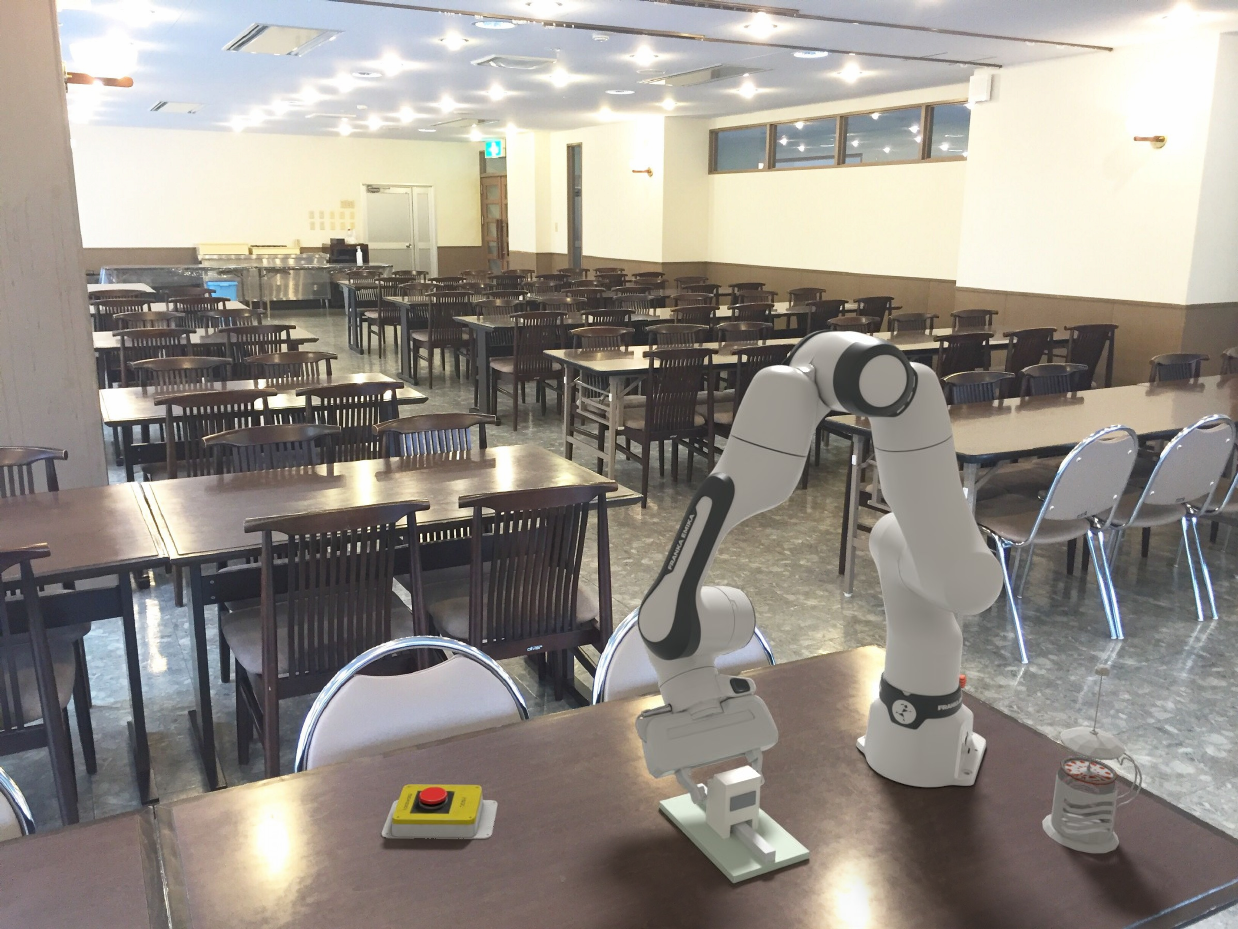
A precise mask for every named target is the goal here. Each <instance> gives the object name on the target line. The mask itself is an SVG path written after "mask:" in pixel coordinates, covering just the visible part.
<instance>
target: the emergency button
mask: <svg viewBox="0 0 1238 929" xmlns="http://www.w3.org/2000/svg"><path fill="white" fill-rule="evenodd" d="M482 789H483V788H482V786H480V784H479V785H478V784H425V783H424V784H421V783H420V784H417V783H414V784H413V783H412V784H406V785H403V787H402V790H401V793H400V794H399V798H398V799H397V800H394V801H393V802H392V804H391V808H390V809H389V812H388V815H387V818H386V821H385V823H384V825H383V828H382V831H381V837H383V838H384V837H386V839H414V838H425V840H426V839H427V838H429V839H430V840H431V838H434V840H435V838H436V839H437V840H439V839H440V840H441V839H442V840H445V839H446V840H447V839H448V840H487V839H489V838H491V837H492V836H493V831H494V827H493V826H495V822H494V821H496V815H497V810H498V806H499V805H498V802H497V801H496V800H493V799H492V800H491V799H483V798H484V797H483V790H482ZM491 835H492V836H491ZM458 838H459V839H458ZM463 838H464V839H463ZM429 839H427V840H429Z"/></svg>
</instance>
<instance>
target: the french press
mask: <svg viewBox="0 0 1238 929" xmlns="http://www.w3.org/2000/svg"><path fill="white" fill-rule="evenodd" d="M1093 672H1094V674H1095V675H1098V676H1100V680H1099V686H1098V687H1099V688H1098V694H1097V699H1096V700H1097V701H1096V709H1095V716H1094V722H1093V727H1087V726H1083V725H1081V726H1076V727H1072V728H1068V729H1064V730H1063V731H1062V732H1061V733H1060V734H1059V736H1060V741H1061V744H1063V745H1064V747H1065V748H1066V749H1067V750H1068V751H1071V752H1072V753H1074V754H1076V755H1079V756H1076V755H1073V756H1072V755H1070V756H1067V757H1064V758H1062V760H1060V762H1059V763H1060V767H1059V768H1058V769H1057V771H1056V775H1055V784H1054V792H1053V800H1052V808H1051V813H1050V814H1048V815H1046V817H1045V818H1044V819H1042V820H1041V821H1042V823H1041V824H1042V829H1043V831H1044V832H1045V833H1046V834H1047V835H1048V836H1049V838H1051V839H1052V840H1053V841H1055V842H1057V843H1058V844H1060V845H1062V846H1064V847H1066V848H1069V849H1072V850H1074V851H1078V852H1084V853H1088V854H1106V853H1109V852H1111V851H1115V850H1116V849H1117V847H1118V846H1119V845H1120V840H1119V837H1118V835H1117V833H1116V832H1115V831H1114V827H1115V821H1116V815H1117V810H1118V809H1117V808H1119V807H1123V806H1124V805H1127V804H1129V803H1131V802H1133V801H1134V800H1135V799H1136V797H1137V796H1138V795H1139V792H1140V790H1141V788H1142V784H1143V775H1142V772H1141V769H1140V767H1139V766H1138V765H1137V764H1136V763H1135V760H1134V759H1133V758H1132V757H1131V756H1130V755H1129V754H1127V753H1126V747H1125V745H1124V743H1122V741H1120V740H1119V739H1118V738H1117V737H1116V736H1114V735H1112V734H1110V733H1108V732H1106V731H1104V730H1103V729H1099V728H1096V725H1097V719H1098V718H1097V717H1098V712H1099V711H1098V710H1099V703H1100V697H1101V696H1100V695H1101V688H1102V682H1103V681H1102V680H1103V677H1109V676H1110V669H1109V667H1108V666H1107V665H1105V664H1098V665H1096V666H1095V667H1094V670H1093ZM1123 755H1124V756H1125V757H1122V756H1123ZM1121 757H1122V758H1121ZM1120 758H1121V759H1120ZM1115 759H1116V761H1117V763H1118V764H1119V765H1120V766H1123V763H1124V760H1126V761H1128V762H1130V763H1132V764H1133V766H1134V780H1133V783H1132V785H1131V786H1130V788H1129V789H1128V791H1127V792H1125V793H1124V794H1122V795H1119V796H1118V794H1119V784H1118V783H1117V784H1116V780H1117V779H1118V773H1117V772H1116V770H1115V769H1114V768H1113V767H1112V766H1110V765H1109V764H1108V763H1105V762H1104V761H1113V760H1115ZM1120 760H1121V761H1120ZM1138 775H1139V783H1138V786H1137V790H1136V792H1135V793H1134V795H1133V797H1131V798H1130V799H1129V800H1127V801H1124V802H1121V803H1119V804H1117V802H1118V801H1117V800H1119V799H1122V798H1125V797H1126V796H1127V795H1129V794H1131V791H1132V790H1133V789H1134V787H1135V785H1136V783H1137V779H1138ZM1069 777H1070V779H1068V780H1066V781H1064V782H1063V780H1064V779H1066V778H1069ZM1074 782H1081V783H1084V784H1073V785H1071V786H1070V784H1072V783H1074ZM1086 784H1089V785H1092V786H1094V787H1095V788H1097V789H1098V790H1099V792H1098V791H1096V790H1095V789H1094V788H1091V787H1090V786H1087V785H1086ZM1115 785H1116V790H1115ZM1082 790H1085V792H1084V791H1082ZM1065 801H1067V803H1065ZM1092 804H1094V805H1095V806H1093V805H1092Z"/></svg>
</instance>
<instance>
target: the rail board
mask: <svg viewBox="0 0 1238 929" xmlns="http://www.w3.org/2000/svg"><path fill="white" fill-rule="evenodd" d="M696 785H697V786H698V787H701V786H704V789H705V793H706V795H707V786H706V785H705V784H703V783H698V784H696ZM706 804H707V800H705V801H704V802H700V803H697V804H694V803H693V801H692V799H691V796H690V793H689V792H688V793H685V794H681V795H677V796H675V797H670V798H666V799H664V800H662V799H661V800H659V804H658V805H659V809H660V810H661V811H662V812H663V813H664V815H666V816H667V817H668V818H669V819H670V820H671V821H672V823H674V824H675V825H676V826H677V827H678V828H679V829H680V830H681V831H682V833H684V834H685V835H686V836H687V838H689V840H691V842H692V843H693V844H694V845H695V846H696V847H697V848H698V849H699V850H700V851H701V852H702V853H703V854H704V855H705V856H706V857H707V858H708V859H709V860H710V861H711V862H712V863H713V864H714V866H716V867H717V868H718V869H719V871H720V872H722V873H723V874H724V876H726V878H728V880H729V881H730V882H731V883H733V884H736V883H738V882H742V881H745V880H747V879H751V878H753V877H757V876H760V875H762V874H766V873H769V872H772V871H775V870H778V869H781V868H784V867H787V866H789V865H793V864H796V863H800V862H802V861H805V860H808V859H810V850H809V849H807V847H805V846H804V845H803V844H802V843H800V842H799V841H798V840H797V839H796V838H795V837H794V836H792V835H791V834H790V833H789V832H788V831H787V830H785V829H784V828H783V827H782V826H781V825H780V824H779V823H778V822H776V821H775V820H774V819H773V818H772V817H771V816H770V815H769V814H767V813H766V811H764V810H762V809H761V808H760V807H759V820H758V829H755V830H753V829H752V828H751V827H750V826H749V825H747V824H746V823H745V822H744V821H743V822H740V823H737V824H733V825H730V837H729V838H726V839H723V838H722V837H721V836H720V835H719V834H718V833H717V832H716V831H715V830H714V829H713V828H712V827H711V826H710V825H709V824H707V823H706Z"/></svg>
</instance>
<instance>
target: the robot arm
mask: <svg viewBox="0 0 1238 929" xmlns="http://www.w3.org/2000/svg"><path fill="white" fill-rule="evenodd" d="M831 411H835V412H844V413H849V414H852V415H854V416H857V417H861V418H862V417H863V418H868V421H869V424H870V426H871V429H870V430H871V436H872V443H873V450H874V456H875V461H876V468H877V472H878V473H877V474H878V479H879V484H880V489H881V494H882V496H883V499H884V501H885V502H886V504H887V505H888V506H889V508H890V509H891V511H892V512H889V513H886V514H884V515H883V516H882V517H880V518H879V519H878V520H877V521H876V522H875V524H874V526H873V527H872V529H871V531H870V533H869V534H870V535H869V537H868V549H869V552H870V555H871V557H872V559H873V561H874V564H875V566H876V569H877V571H878V572H877V574H878V578H879V583H880V587H881V594H882V599H883V604H884V605H883V606H884V613H885V622H886V639H885V656H884V670H883V671H882V673H881V674H880V680H879V684H878V685H879V686H878V687H879V688H878V689H879V693H878V698H875V700H873V701H871V702H870V705H869V710H868V718H867V724H866V729H865V730H866V731H865V734H864V735H863V736H860V737H858V738H857V740H856V745H855V746H856V747H857V748H858V750H860V751H861V752H862V753H863V754H864V756H865V759H866V762H867V763H868V765H869V766H870V767H871V769H873V770H874V772H876V773H878V774H879V775H880V776H883V777H885V778H886V779H889V780H891V781H895V782H897V783H899V784H900V783H901V784H904V785H907V786H913V787H921V788H938V787H944V786H945V787H946V786H961V787H962V786H964V787H965V786H966V787H967V786H968V787H969V786H972V785H974V784H975V780H976V777H977V775H978V771H979V769H980V766H981V763H982V760H983V756H984V753H985V750H986V747H987V741H986V739H985V738H984V737H983V736H982V735H980V734H979V733H976V732H974V731H973V727H974V726H973V725H974V713H973V712H972V711H971V709H969V708H968V706H966V705H965V704H964V703H963V691H962V689H964V688H965V687H966V684H967V679H968V678H967V675H963V674H961V667H962V666H961V665H962V656H963V645H964V638H963V634H962V630H961V628H960V626H959V624H958V622H957V619H956V617H955V614H954V613H956V614H958V615H959V614H960V615H962V616H973V615H977V614H978V615H979V614H980V613H982V612H985V611H986V610H987V609H989V608H990V607H991V606H992V605H993V604H994V603H995V602H996V601H997V599H998V598H999V595H1000V594H1001V592H1002V590H1003V585H1004V570H1003V567H1002V566H1001V563H1000V561H999V560H998V559H997V558H996V556H995V555H994V554H993V552H992V551H991V549H990V548H989V546H988V545H987V543H986V541H985V538H984V537H983V535H982V533H981V530H980V529H979V526H978V523H977V521H976V519H975V516H974V514H973V512H972V509H971V507H970V505H969V501H968V500H967V497H966V495H965V494H966V493H965V491H964V489H963V488H964V487H963V485H962V481H961V476H960V471H959V470H960V469H959V465H958V458H957V453H956V446H955V441H954V435H953V433H954V432H953V428H952V422H951V416H950V413H949V408H948V405H947V401H946V398H945V395H944V392H943V389H942V386H941V384H940V381H939V377H938V376H937V374H936V372H935V371H934V370H933V369H932V368H931V367H930V366H928V365H925V364H923V363H919V362H915V361H913V362H912V361H910V360H909V359H908V357H907V356H906V354H905V353H904V352H903V351H902V350H901V349H900V348H899V347H898V346H897V345H895V344H894V343H892V342H890V341H889V340H886V339H884V338H880V337H875V336H871V335H868V334H865V333H862V332H857V331H850V330H849V331H838V330H834V329H833V330H832V329H823V330H817V331H814V332H811V333H809V334H807V335H805V336H803V337H802V338H801V339H800V340H798V341H797V343H796V344H795V345H794V347H793V348H792V349H791V351H790V353H789V354H788V356H786V357H785V359H784V360H782V362H781V364H779V365H778V364H776V365H771V366H766V367H764V368H762V369H760V370H758V372H757V373H756V374H755V375H754V376H753V378H752V379H751V382H750V383H749V386H748V387H747V389H746V391H745V394H744V395H743V398H742V400H741V403H740V404H739V407H738V410H737V412H736V415H735V418H734V421H733V423H732V426H731V430H730V434H729V435H728V440H727V442H726V444H725V447H724V449H723V450H722V451H723V452H722V453H721V456H720V457H719V459H718V461H717V463H716V465H715V466H714V468H713V469H712V471H711V472H710V473H709V474H708V476H707V477H706V478H705V479H704V480H702V482H701V483H700V484H699V485H698V487H697V489H696V490H695V492H694V494H693V496H692V498H691V500H690V501H689V504H688V506H687V508H686V510H685V513H684V515H683V518H682V520H681V522H680V524H679V527H678V529H677V531H676V534H675V536H674V538H673V541H672V543H671V545H670V548H669V550H668V552H667V555H666V557H665V559H664V562H663V564H662V567H661V569H660V571H659V573H658V575H657V576H656V578H655V580H654V582H653V583H652V584H651V586H650V587H649V588H648V589H647V592H646V593H645V595H644V596H643V598H642V600H641V602H640V605H639V608H638V613H637V628H638V632H639V635H640V638H641V640H642V643H643V646H644V649H645V653H646V655H647V658H648V661H649V663H650V665H651V666H652V668H653V670H654V671H655V673H656V675H657V682H658V683H657V685H658V686H657V687H658V690H659V692H660V695H661V697H662V700H663V704H664V705H660V706H656V707H655V708H651V709H650V708H646V709H644V710H641V712H640V714H639V715H637V716H636V718H635V722H634V728H635V730H636V732H637V736H638V738H639V739H640V740H641V745H642V750H643V751H642V752H643V756H644V761H645V764H646V768H647V771H648V773H649V775H651V776H652V777H654V779H661V778H665V777H670V776H672V775H674V776H675V778H676V781H677V783H678V784H679V785H680V786H681V787H682V788H683V789H684V790H685V791H687V792H688V793H690V796H691V799H692V801H693V803H694V804H697V803H700V802H704V801H705V800H707V795H706V793H705V789H704V786H701V787H698V786H697V784H696V782H694V781H693V779H692V778H691V776H692V775H693V774H692V770H695V769H699V768H703V767H707V766H710V765H715V764H718V763H722V762H726V761H729V760H734V759H738V758H741V757H744V756H745V758H746V760H747V763H751V768H752V769H753V770H755V771H756V772H757V773H758V774H759V775H761V784H760V787H761V786H762V785H764V784H765V782H766V781H765V778H764V775H763V773H762V766H763V758H764V755H763V751H767V750H770V749H771V748H772V747H773V746H775V745H776V744H777V743H778V740H779V731H778V728H777V725H776V723H775V721H774V718H773V716H772V714H771V713H770V710H769V708H768V706H767V704H766V703H765V701H764V700H763V699H762V698H761V697H760V696H758V695H756V694H754V693H755V692H756V691H757V686H756V684H755V681H754V680H753V679H752V678H750V677H744V676H734V675H728V674H724V673H719V672H718V670H717V667H716V662H715V661H716V659H717V658H719V657H720V656H725V655H729V654H732V653H734V652H737V651H739V650H742V649H744V648H745V647H747V645H748V644H749V643H750V642H751V640H752V638H754V634H755V630H756V624H757V617H756V610H755V608H754V605H753V603H752V601H751V599H750V598H749V596H748V595H747V594H746V593H745V592H744V591H743V590H742V589H739V587H738V588H737V587H732V586H726V585H705V586H704V583H705V581H706V579H707V577H708V574H709V573H710V572H709V571H710V569H711V568H712V565H713V562H714V561H715V560H714V559H715V558H716V556H717V553H718V551H719V548H720V546H721V543H722V542H723V541H724V539H725V537H726V536H727V535H728V534H729V532H730V531H731V530H733V528H735V527H736V526H737V525H739V524H740V523H742V522H743V521H745V520H747V519H749V518H751V517H753V516H755V515H758V514H761V513H762V512H766V511H768V510H772V509H774V508H776V507H778V506H779V505H781V504H782V503H784V502H785V501H787V500H788V499H789V498H790V497H791V495H792V494H793V492H795V491H794V490H796V487H797V486H798V484H799V481H800V479H801V477H802V475H803V471H804V469H805V465H806V461H807V458H808V454H809V451H810V448H811V445H812V441H813V436H814V432H815V431H816V428H817V427H818V425H819V424H820V422H821V421H822V420H823V419H824V417H825V416H826V415H827V414H829V413H830V412H831Z"/></svg>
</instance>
